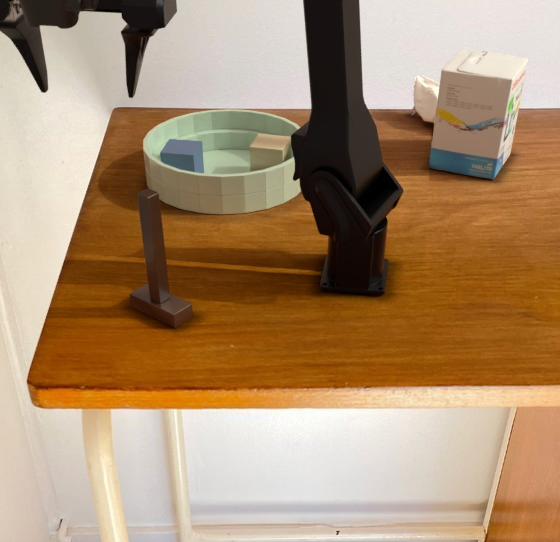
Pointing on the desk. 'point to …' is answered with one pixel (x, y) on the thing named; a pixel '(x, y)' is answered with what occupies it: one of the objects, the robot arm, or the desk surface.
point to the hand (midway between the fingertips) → (88, 94)
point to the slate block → (183, 155)
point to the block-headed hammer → (156, 268)
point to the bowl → (221, 163)
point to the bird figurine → (425, 98)
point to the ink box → (477, 112)
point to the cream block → (269, 151)
